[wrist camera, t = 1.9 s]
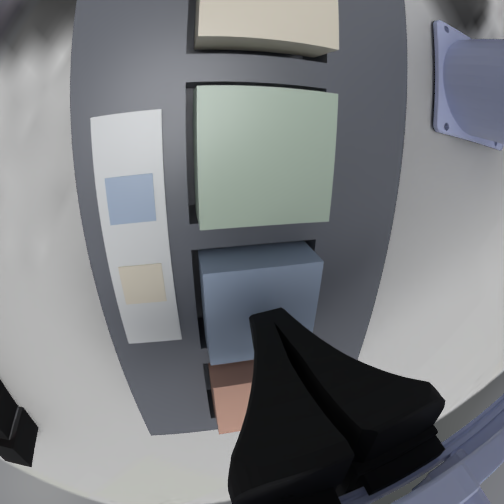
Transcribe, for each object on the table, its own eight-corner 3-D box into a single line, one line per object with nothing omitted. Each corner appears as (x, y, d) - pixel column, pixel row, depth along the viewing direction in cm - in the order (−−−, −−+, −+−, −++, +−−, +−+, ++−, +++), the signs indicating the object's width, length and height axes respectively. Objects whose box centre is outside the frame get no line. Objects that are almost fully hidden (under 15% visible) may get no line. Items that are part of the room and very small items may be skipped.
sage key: (313, 95, 11) (338, 94, 9) (307, 205, 13) (328, 221, 11) (193, 91, 10) (196, 85, 8) (195, 211, 12) (200, 230, 10)
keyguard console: (367, -21, 11) (402, -36, 8) (326, 374, 23) (343, 403, 20) (104, -42, 7) (91, -72, 5) (149, 402, 20) (151, 438, 17)
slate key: (304, 240, 14) (323, 261, 12) (295, 323, 16) (309, 348, 14) (197, 249, 13) (202, 274, 11) (204, 336, 15) (210, 365, 13)
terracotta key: (292, 346, 17) (305, 371, 15) (284, 395, 19) (294, 419, 17) (207, 359, 16) (213, 388, 14) (213, 408, 18) (219, 434, 16)
